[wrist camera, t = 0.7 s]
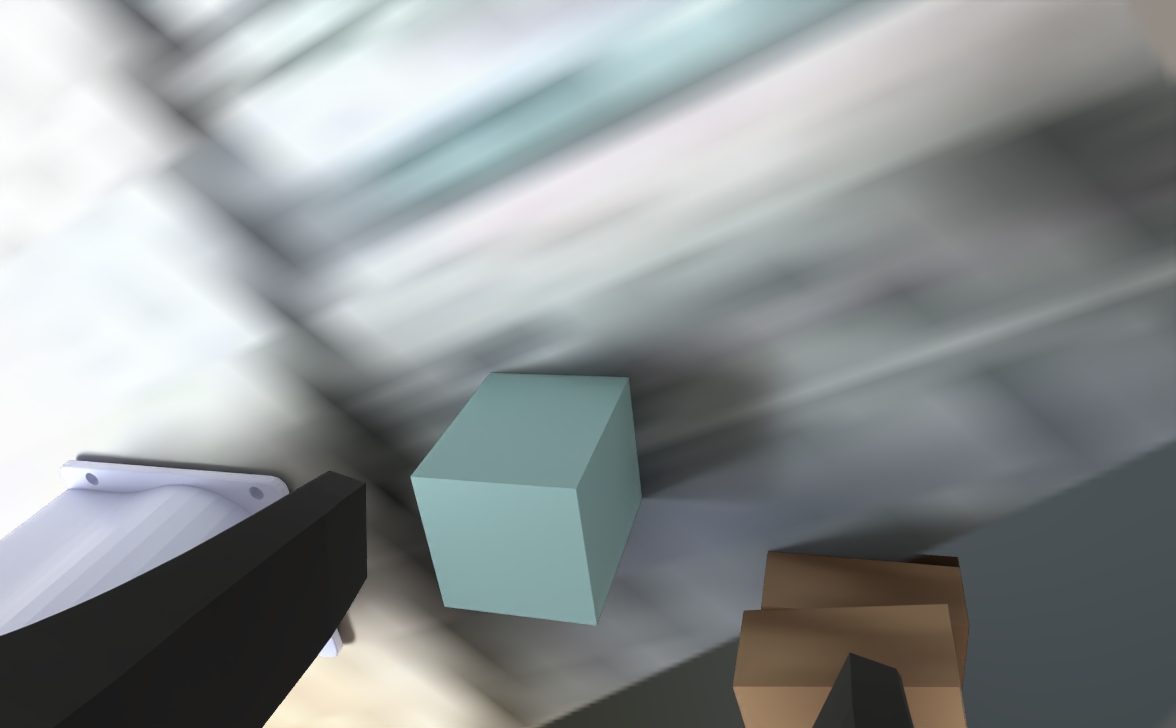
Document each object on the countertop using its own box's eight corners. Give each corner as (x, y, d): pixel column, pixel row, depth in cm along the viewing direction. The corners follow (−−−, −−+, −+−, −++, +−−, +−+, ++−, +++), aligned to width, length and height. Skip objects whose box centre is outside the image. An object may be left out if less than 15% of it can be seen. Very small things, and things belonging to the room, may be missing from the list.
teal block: (513, 487, 25) (444, 607, 21) (490, 372, 23) (410, 476, 19) (642, 497, 24) (596, 625, 20) (629, 376, 22) (575, 488, 18)
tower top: (781, 739, 24) (775, 821, 22) (744, 610, 22) (733, 686, 20) (969, 744, 22) (982, 834, 20) (947, 603, 20) (959, 686, 18)
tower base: (773, 667, 26) (767, 734, 24) (768, 542, 24) (761, 605, 22) (945, 686, 25) (954, 761, 23) (958, 557, 22) (969, 625, 20)
